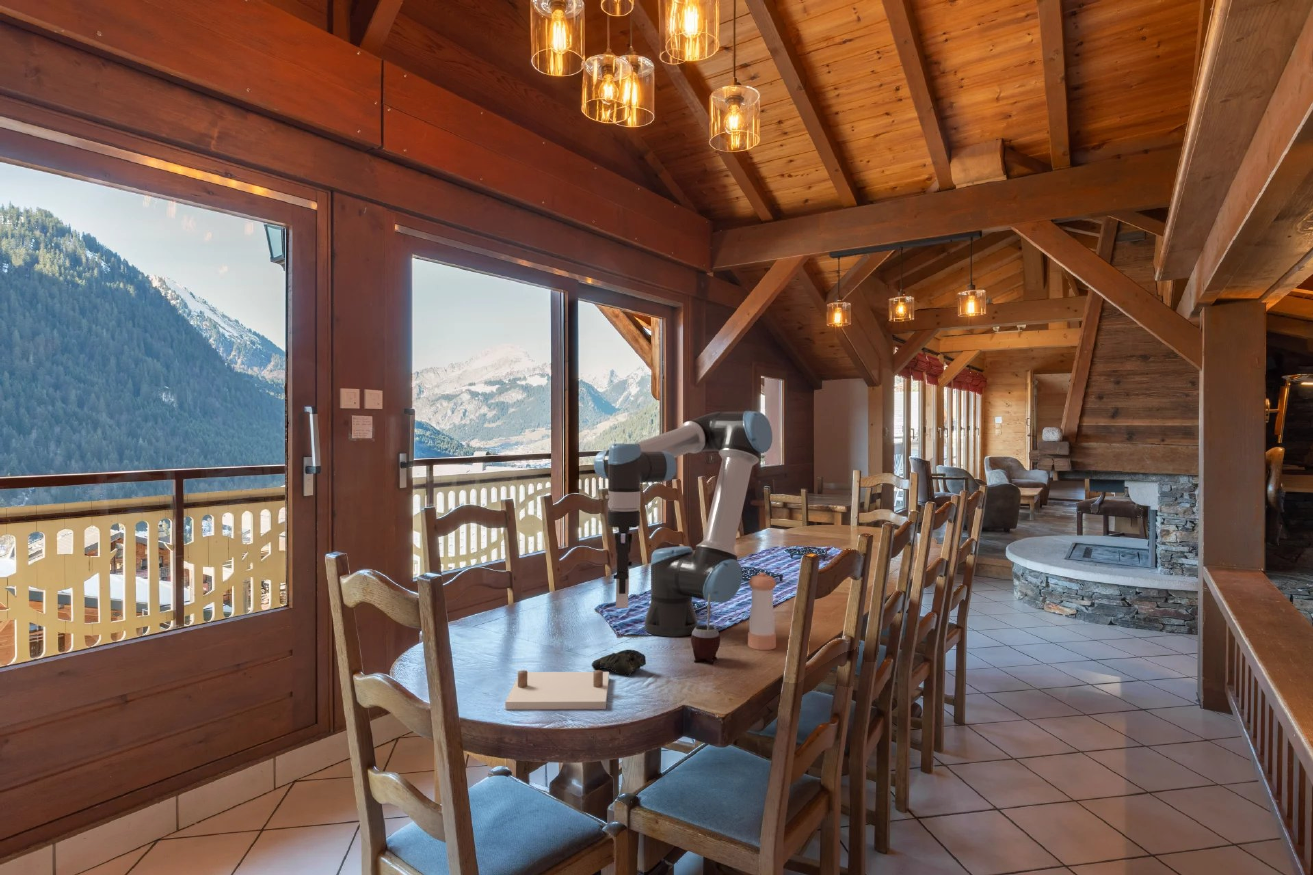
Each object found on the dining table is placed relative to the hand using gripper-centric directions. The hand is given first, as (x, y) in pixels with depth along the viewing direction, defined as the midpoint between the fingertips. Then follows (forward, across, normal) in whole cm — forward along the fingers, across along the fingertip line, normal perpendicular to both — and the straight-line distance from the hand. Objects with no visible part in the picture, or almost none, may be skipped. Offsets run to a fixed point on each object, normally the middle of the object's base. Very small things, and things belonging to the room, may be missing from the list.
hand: (622, 600), depth 159 cm
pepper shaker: (+16, -18, +36) cm, 44 cm away
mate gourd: (+16, -7, +20) cm, 27 cm away
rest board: (+16, +14, -13) cm, 25 cm away
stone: (+17, 0, -1) cm, 17 cm away
